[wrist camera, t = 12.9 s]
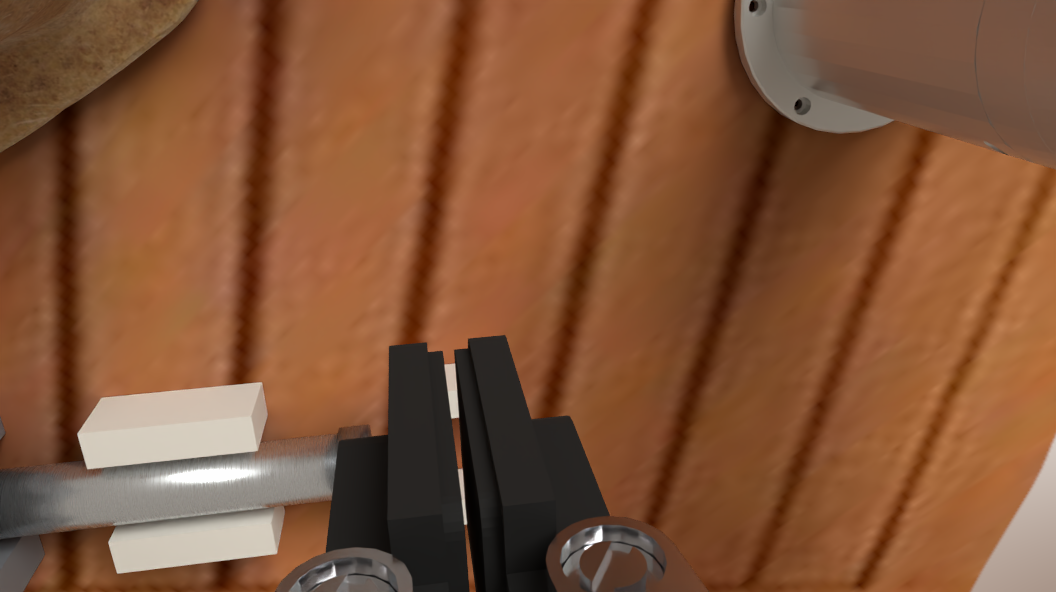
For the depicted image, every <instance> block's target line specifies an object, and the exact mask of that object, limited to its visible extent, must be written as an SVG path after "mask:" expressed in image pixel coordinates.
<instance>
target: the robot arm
mask: <svg viewBox="0 0 1056 592" xmlns="http://www.w3.org/2000/svg"><path fill="white" fill-rule="evenodd" d="M751 1H753V2H754V5H755V6H754V9H753V10H752V11H749V5H750V2H751ZM734 22H735V38H736V43H737V47H738V50H739V54H740V58H741V62H742V65H743V67H744V69H745V71H746V73H747V75H748V77H749V79H750V81H751V83H752V85H753V86H754V87H755V89H756V90H757V91H758V93H759V94H760V95H761V97H762V98H763V99H764V101H765V102H767V103H768V104H769V105H770V106H771V107H773V108H774V109H775V110H776V111H777V112H778V113H780V114H781V115H783V116H785V117H786V118H788V119H790V120H792V121H794V122H796V123H798V124H800V125H803V126H806V127H809V128H812V129H815V130H817V131H824V132H831V133H838V134H840V133H856V132H863V131H867V130H871V129H874V128H878V127H882V126H884V125H886V124H889V123H891V122H893V121H895V120H896V121H899V122H902V123H906V124H909V125H912V126H915V127H919V128H922V129H925V130H928V131H932V132H935V133H938V134H941V135H945V136H948V137H951V138H954V139H958V140H961V141H964V142H967V143H971V144H974V145H977V146H980V147H984V148H987V149H990V150H993V151H997V152H1000V153H1003V154H1006V155H1010V156H1013V157H1016V158H1019V159H1023V160H1026V161H1029V162H1033V163H1036V164H1039V165H1043V166H1046V167H1049V168H1053V169H1056V0H735V8H734ZM797 100H798V106H797V107H796V108H794V105H795V102H796V101H797ZM454 354H455V369H456V383H457V397H458V411H459V425H460V439H461V453H462V467H463V481H464V495H465V508H466V519H467V528H468V535H469V543H470V550H471V558H472V565H473V573H474V580H475V588H476V592H709V591H708V590H707V588H706V587H705V586H704V584H703V583H702V581H701V580H700V579H699V577H698V576H697V575H696V573H695V572H694V570H693V569H692V568H691V566H690V565H689V564H688V562H687V561H686V559H685V558H684V557H683V555H682V554H681V553H680V551H679V550H678V548H677V547H676V546H675V544H674V543H673V542H672V541H671V540H670V539H669V538H668V537H667V536H666V535H665V534H664V533H663V532H661V531H659V530H658V529H656V528H654V527H652V526H650V525H649V524H647V523H644V522H641V521H637V520H634V519H630V518H626V517H614V516H610V515H609V512H608V510H607V507H606V505H605V502H604V500H603V497H602V495H601V492H600V489H599V487H598V484H597V482H596V479H595V477H594V474H593V472H592V469H591V467H590V464H589V462H588V459H587V457H586V454H585V451H584V449H583V446H582V444H581V441H580V439H579V436H578V434H577V431H576V429H575V426H574V424H573V421H572V419H571V418H570V416H559V417H550V418H541V419H531V417H530V414H529V411H528V407H527V404H526V401H525V397H524V394H523V391H522V388H521V384H520V381H519V378H518V375H517V371H516V368H515V365H514V361H513V358H512V355H511V352H510V348H509V345H508V342H507V338H506V336H505V335H502V336H492V337H481V338H470V339H468V349H458V350H454ZM275 592H469V580H468V566H467V553H466V539H465V527H464V516H463V506H462V497H461V489H460V482H459V474H458V466H457V458H456V451H455V443H454V435H453V428H452V420H451V412H450V404H449V397H448V389H447V381H446V373H445V366H444V358H443V351H437V352H428V350H427V343H416V344H405V345H395V346H389V409H388V435H382V436H373V437H363V438H354V439H345V440H340V441H339V443H338V449H337V458H336V467H335V475H334V484H333V493H332V502H331V510H330V519H329V528H328V536H327V545H326V553H324V554H321V555H318V556H315V557H313V558H312V559H310V560H308V561H306V562H305V563H303V564H301V565H299V566H298V567H296V568H295V569H294V570H293V571H292V572H291V573H289V574H288V575H287V576H286V577H285V578H284V579H283V580H282V581H281V582H280V584H279V586H278V587H277V589H276V591H275Z"/></svg>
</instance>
